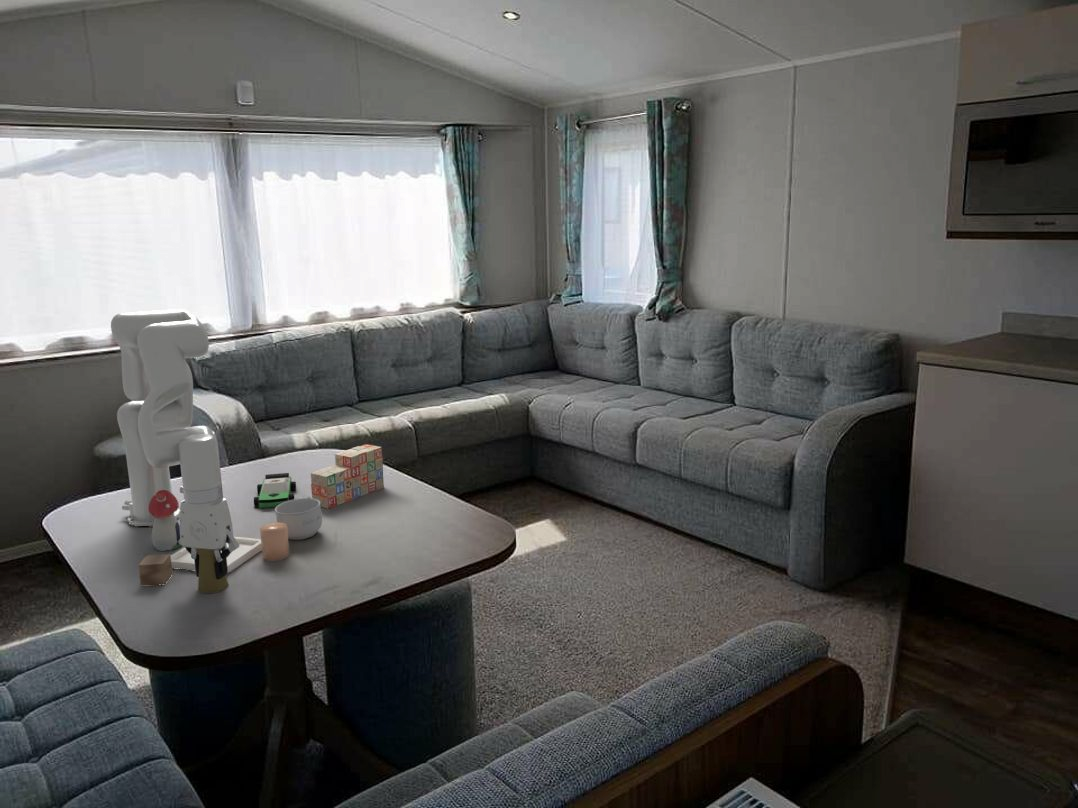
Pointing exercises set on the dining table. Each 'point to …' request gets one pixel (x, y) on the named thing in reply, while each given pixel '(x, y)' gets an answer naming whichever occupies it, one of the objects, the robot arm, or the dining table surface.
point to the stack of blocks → (349, 476)
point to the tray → (235, 559)
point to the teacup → (300, 517)
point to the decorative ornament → (164, 521)
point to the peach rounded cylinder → (274, 541)
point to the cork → (209, 573)
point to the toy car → (274, 490)
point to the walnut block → (155, 569)
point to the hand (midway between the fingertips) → (212, 574)
